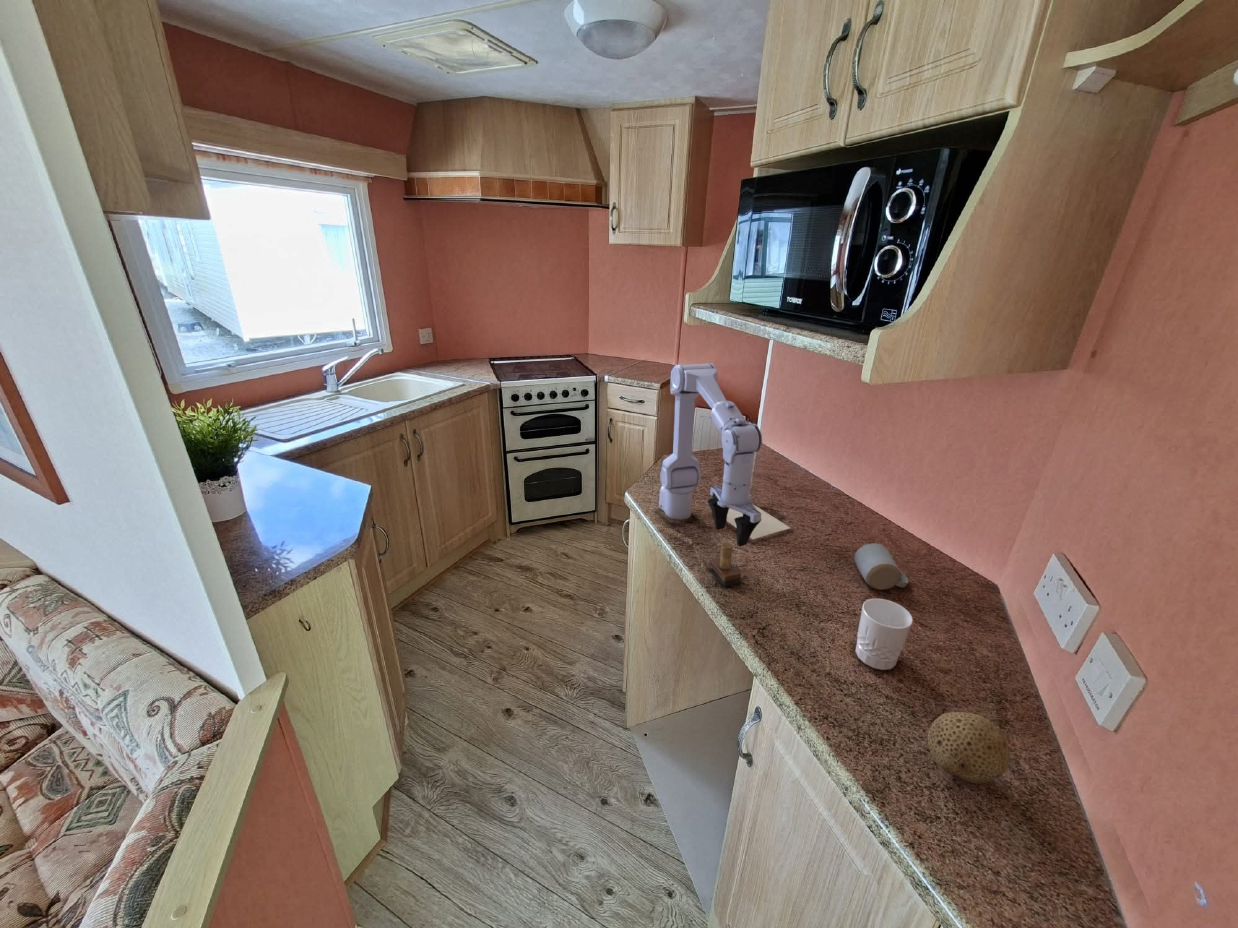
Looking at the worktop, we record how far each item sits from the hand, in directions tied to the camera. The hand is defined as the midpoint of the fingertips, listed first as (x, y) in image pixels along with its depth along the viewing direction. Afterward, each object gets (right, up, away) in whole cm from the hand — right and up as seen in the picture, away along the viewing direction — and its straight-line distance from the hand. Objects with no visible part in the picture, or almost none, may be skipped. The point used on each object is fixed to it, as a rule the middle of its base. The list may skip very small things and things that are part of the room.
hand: (730, 536), depth 108 cm
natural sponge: (+23, -28, -39) cm, 53 cm away
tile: (+12, 0, +26) cm, 28 cm away
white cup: (+22, -20, -18) cm, 35 cm away
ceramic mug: (+34, -11, +3) cm, 36 cm away
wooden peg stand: (-1, -10, +4) cm, 10 cm away
